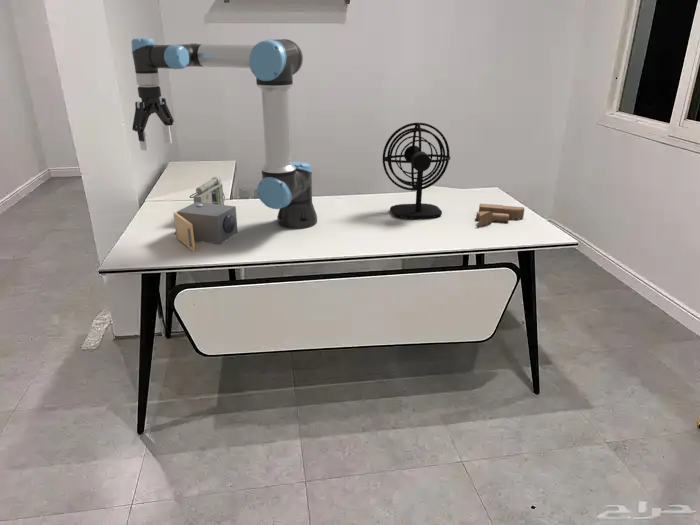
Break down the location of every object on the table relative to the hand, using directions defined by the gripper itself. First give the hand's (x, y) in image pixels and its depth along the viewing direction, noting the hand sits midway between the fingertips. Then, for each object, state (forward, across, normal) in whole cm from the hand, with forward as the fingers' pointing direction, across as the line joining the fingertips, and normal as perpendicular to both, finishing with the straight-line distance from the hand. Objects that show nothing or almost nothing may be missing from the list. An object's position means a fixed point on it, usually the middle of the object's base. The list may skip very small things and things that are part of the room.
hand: (156, 146), depth 199 cm
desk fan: (+28, -41, +89) cm, 102 cm away
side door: (+27, +22, +23) cm, 42 cm away
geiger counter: (+28, -11, +13) cm, 33 cm away
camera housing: (+28, +10, +26) cm, 39 cm away
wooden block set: (+29, -41, +122) cm, 132 cm away
